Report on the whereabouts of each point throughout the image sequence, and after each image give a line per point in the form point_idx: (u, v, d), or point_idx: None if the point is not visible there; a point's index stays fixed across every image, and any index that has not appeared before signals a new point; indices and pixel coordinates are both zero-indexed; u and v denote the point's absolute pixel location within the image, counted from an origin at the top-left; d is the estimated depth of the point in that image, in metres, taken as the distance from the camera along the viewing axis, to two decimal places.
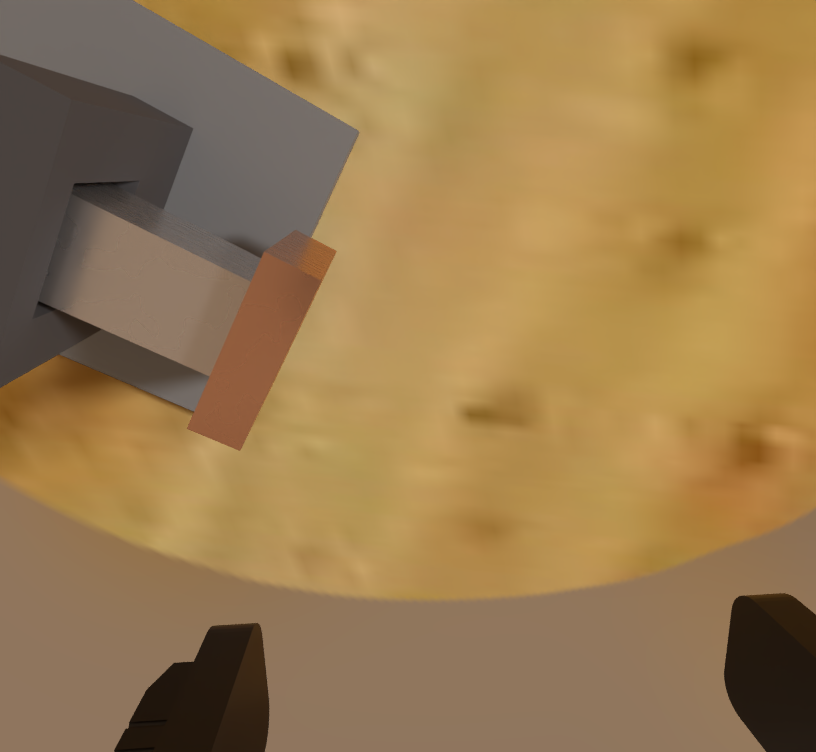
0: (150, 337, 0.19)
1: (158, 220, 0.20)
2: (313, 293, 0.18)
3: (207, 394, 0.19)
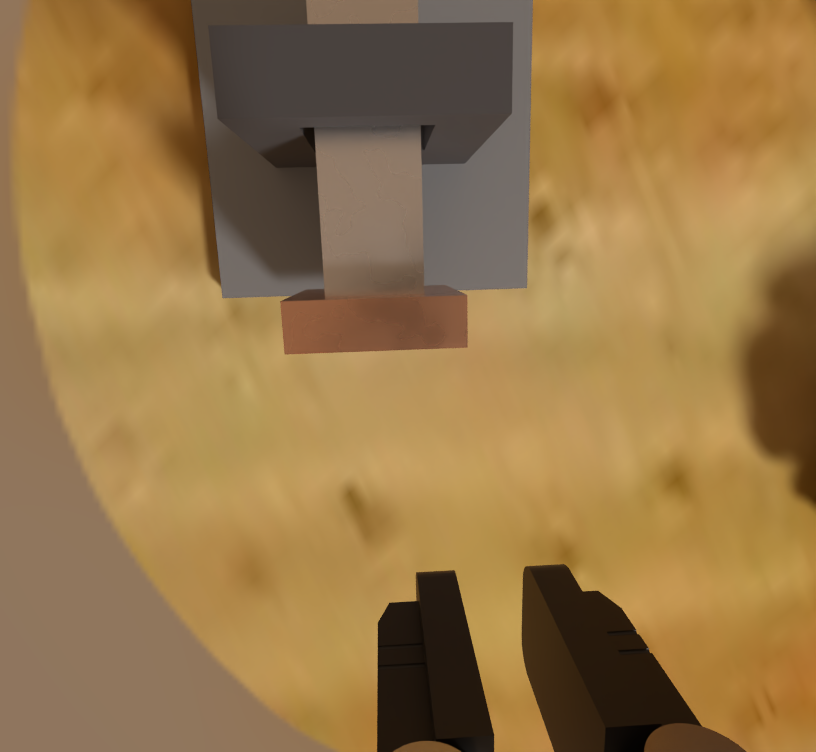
0: (332, 230, 0.21)
1: None
2: (454, 346, 0.21)
3: (323, 304, 0.20)
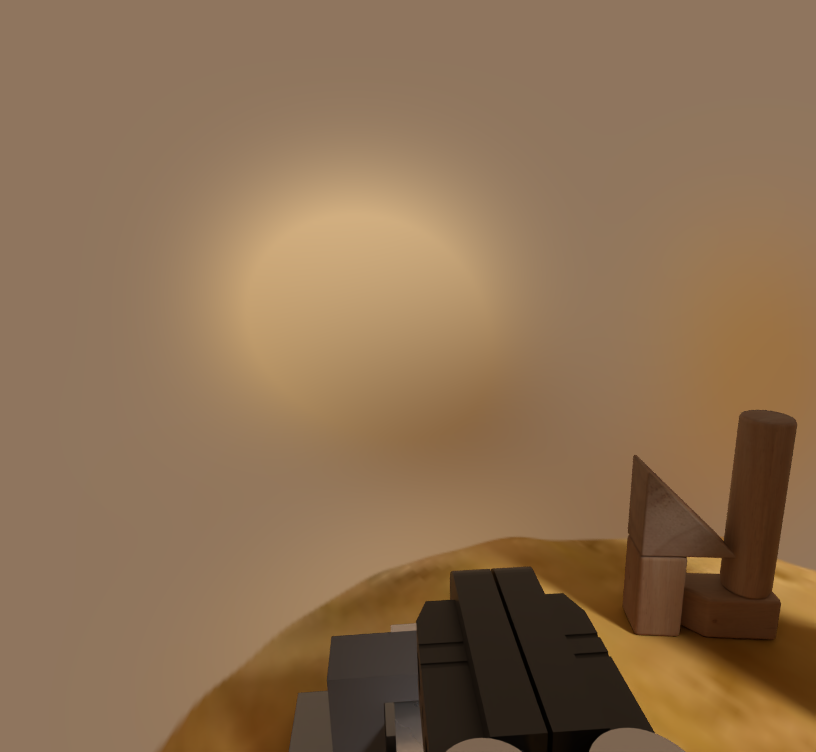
0: None
1: None
2: None
3: None
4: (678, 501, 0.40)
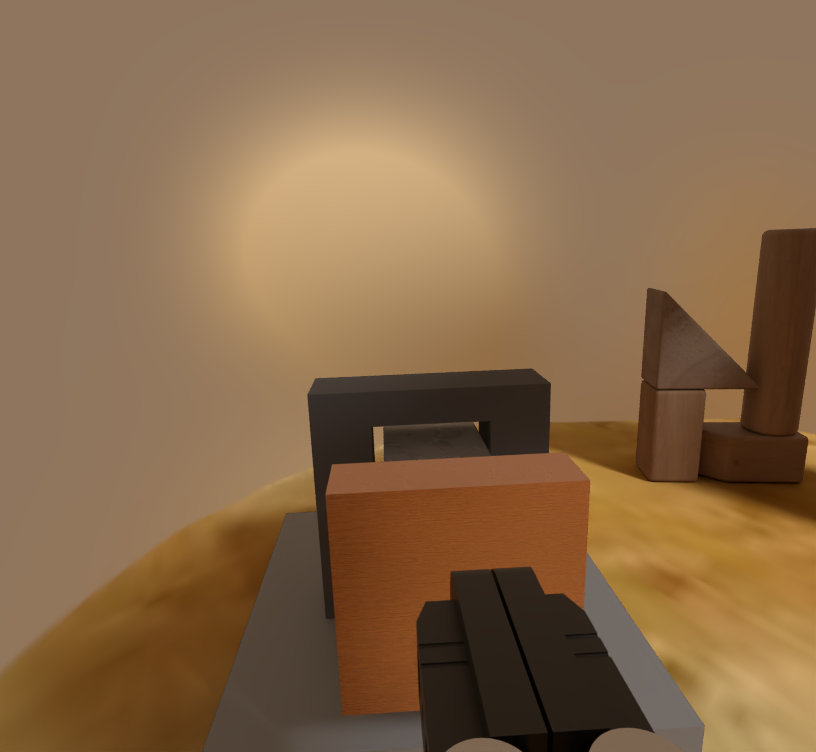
0: None
1: None
2: (570, 480, 0.14)
3: (385, 464, 0.16)
4: (696, 324, 0.37)
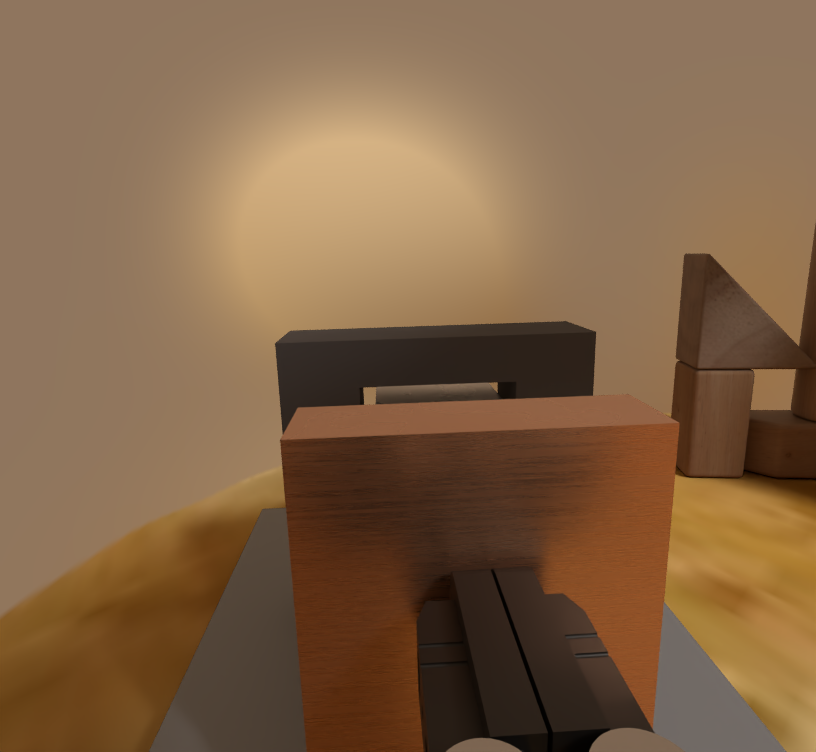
0: None
1: None
2: (650, 423, 0.09)
3: (373, 407, 0.11)
4: (745, 292, 0.32)
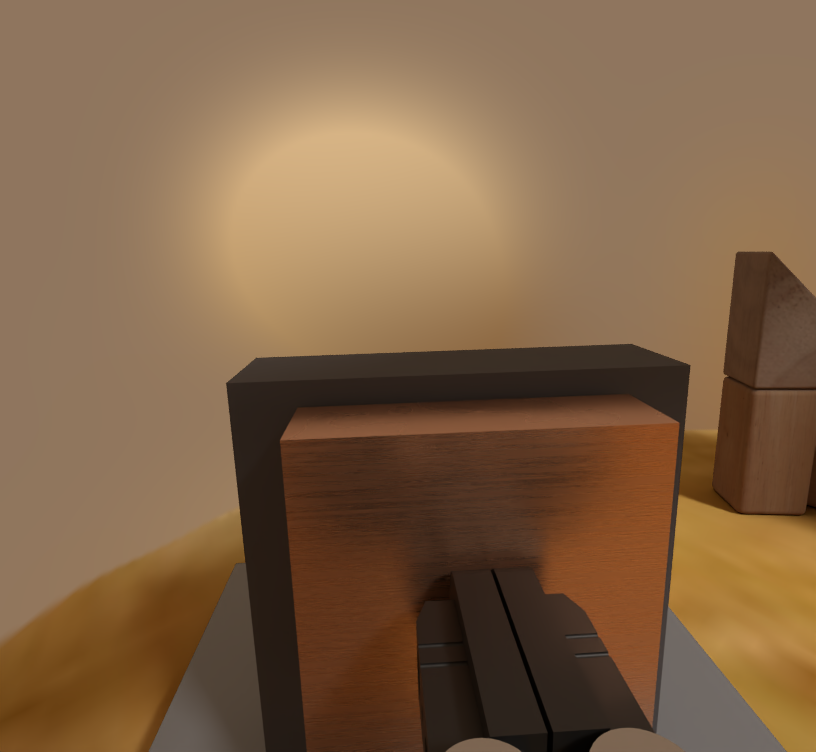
0: None
1: None
2: (650, 423, 0.09)
3: (372, 406, 0.11)
4: (814, 298, 0.27)
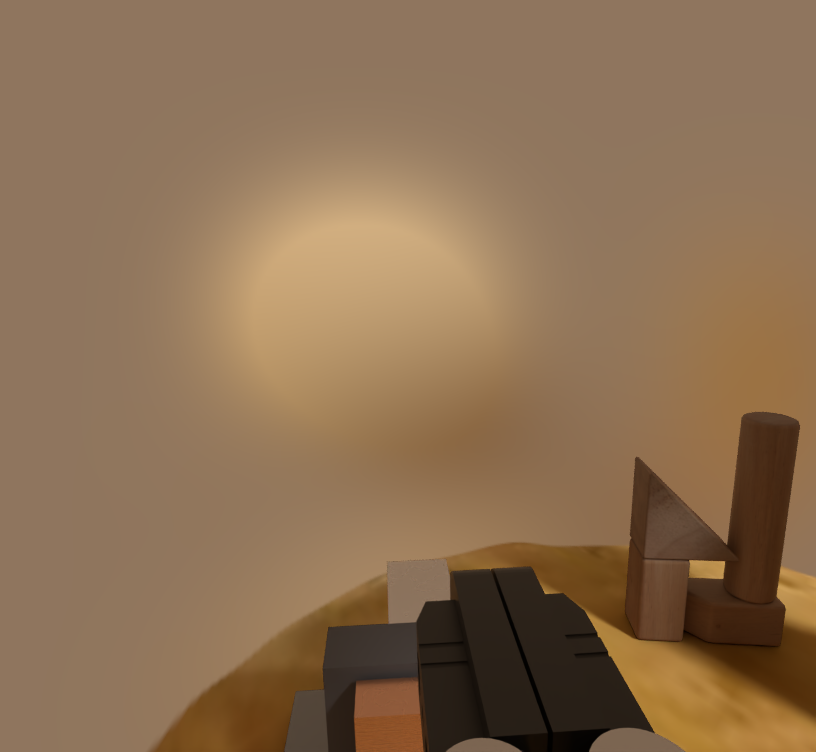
0: None
1: None
2: None
3: (391, 681, 0.24)
4: (680, 503, 0.40)
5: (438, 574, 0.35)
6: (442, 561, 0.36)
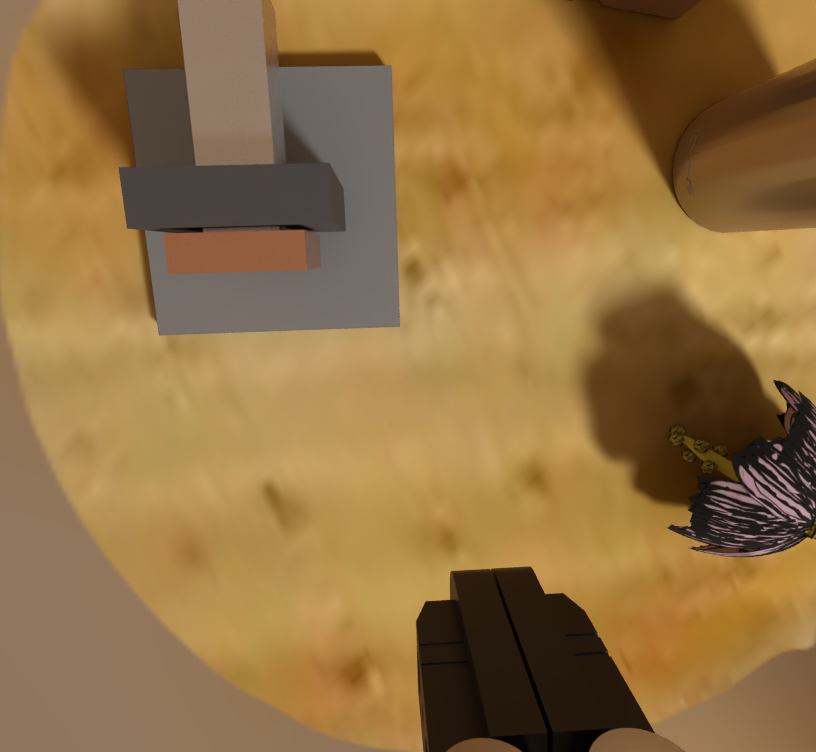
0: None
1: (279, 152, 0.29)
2: (297, 269, 0.27)
3: (195, 236, 0.27)
4: None
5: (247, 15, 0.26)
6: None
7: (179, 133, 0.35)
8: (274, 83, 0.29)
